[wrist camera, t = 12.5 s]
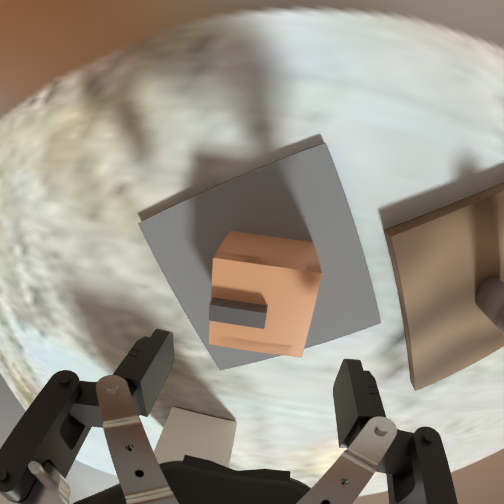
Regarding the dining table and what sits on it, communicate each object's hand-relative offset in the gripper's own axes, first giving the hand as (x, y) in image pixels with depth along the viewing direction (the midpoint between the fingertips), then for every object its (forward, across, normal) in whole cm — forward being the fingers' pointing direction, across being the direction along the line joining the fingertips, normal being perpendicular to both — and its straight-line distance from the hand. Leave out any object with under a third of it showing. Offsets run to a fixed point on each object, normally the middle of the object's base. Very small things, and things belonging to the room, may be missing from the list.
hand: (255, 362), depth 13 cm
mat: (+9, 0, 0) cm, 9 cm away
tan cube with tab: (+8, 0, -1) cm, 9 cm away
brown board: (+9, -18, -2) cm, 21 cm away
